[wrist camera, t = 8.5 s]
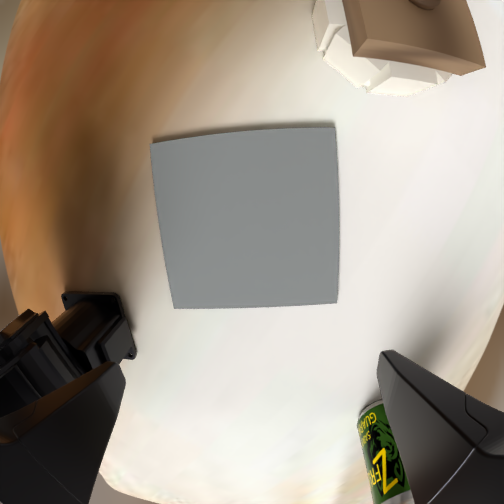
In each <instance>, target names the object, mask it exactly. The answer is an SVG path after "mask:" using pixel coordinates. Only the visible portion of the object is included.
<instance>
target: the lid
mask: <svg viewBox="0 0 504 504" xmlns="http://www.w3.org/2000/svg"><path fill="white" fill-rule="evenodd" d="M342 3H343V7H344V12H345V17H346V21H347V26H348V32H349V37H350V42H351V48H352V54H353V57H364V58H373V59H381V60H389V61H395V62H402V63H407V64H413V65H418V66H423V67H428V68H432V69H437V70H441V71H445V72H449V73H453V74H456V75H460V76H462V75H464V74H467V73H470V72H473V71H476V70H479V69H482V68H485V67H486V65H485V61H484V56H483V52H482V48H481V45H480V41H479V37H478V34H477V31H476V27H475V24H474V21H473V18H472V15H471V13H470V10H469V7H468V4H467V2H466V0H342Z"/></svg>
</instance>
